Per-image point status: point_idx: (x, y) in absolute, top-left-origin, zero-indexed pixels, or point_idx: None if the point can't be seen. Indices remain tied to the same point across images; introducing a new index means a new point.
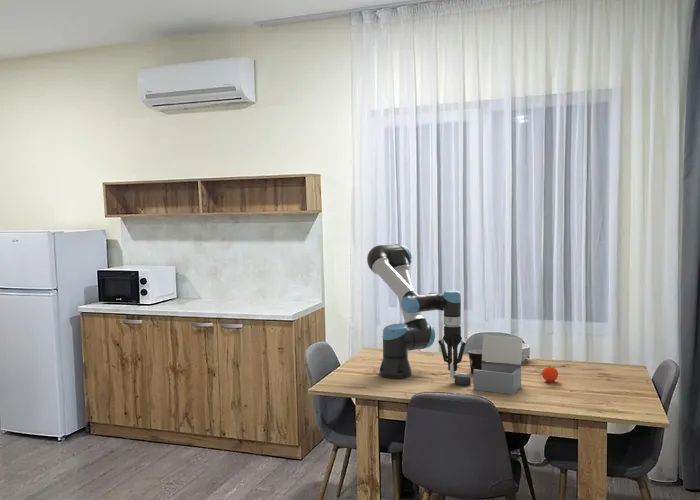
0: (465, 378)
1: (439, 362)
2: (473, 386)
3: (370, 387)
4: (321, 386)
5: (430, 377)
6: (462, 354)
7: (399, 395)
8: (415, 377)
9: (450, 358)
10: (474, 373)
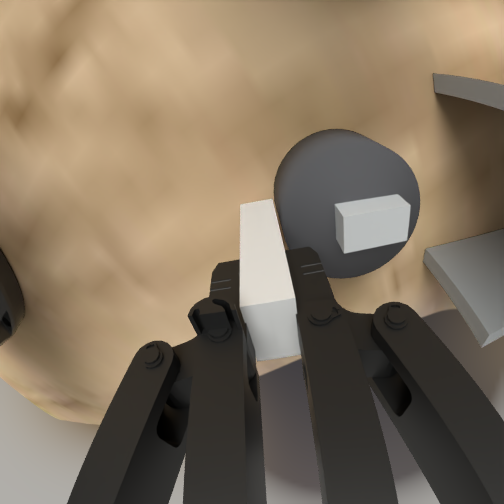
0: (393, 256)
1: None
2: (431, 272)
3: (85, 400)
4: (43, 408)
5: (56, 198)
6: (474, 417)
7: None
8: (24, 254)
9: (259, 419)
10: (475, 327)
